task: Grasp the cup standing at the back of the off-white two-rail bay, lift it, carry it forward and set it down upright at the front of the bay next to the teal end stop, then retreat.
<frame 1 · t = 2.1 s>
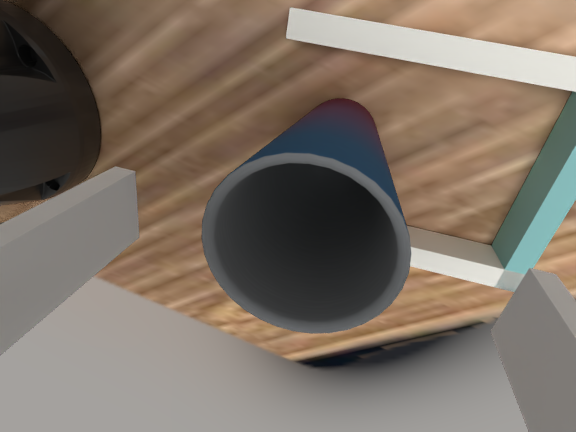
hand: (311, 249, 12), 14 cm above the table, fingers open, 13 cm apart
cup: (339, 135, 25), on the table
bay: (411, 151, 24), on the table
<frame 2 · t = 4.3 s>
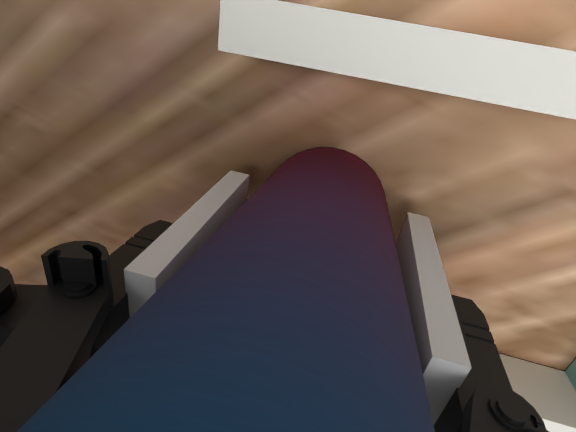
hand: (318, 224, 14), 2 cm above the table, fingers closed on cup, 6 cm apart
cup: (325, 202, 15), on the table, touching gripper
bay: (443, 232, 15), on the table
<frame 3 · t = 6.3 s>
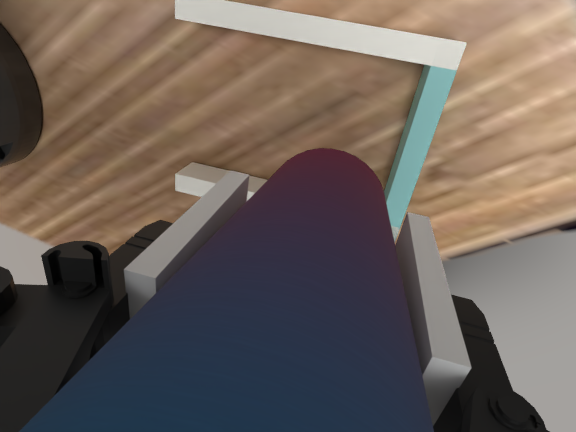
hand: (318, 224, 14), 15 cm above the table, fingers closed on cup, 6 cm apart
cup: (325, 202, 15), point 13 cm above the table, touching gripper
bay: (302, 120, 27), on the table
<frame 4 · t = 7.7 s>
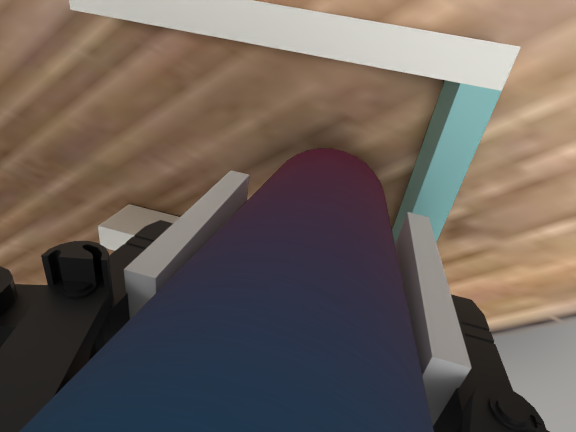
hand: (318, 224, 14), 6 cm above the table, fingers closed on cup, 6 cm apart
cup: (325, 202, 15), point 4 cm above the table, touching gripper
bay: (271, 154, 19), on the table
when the fingers open (5 cm above the table, at t = 8.8 s): cup drops 3 cm, on the table.
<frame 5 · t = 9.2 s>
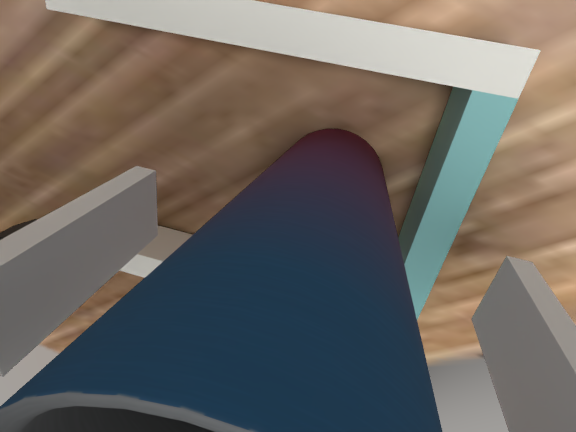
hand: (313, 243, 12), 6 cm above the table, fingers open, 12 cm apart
cup: (332, 176, 18), on the table
bay: (266, 164, 18), on the table
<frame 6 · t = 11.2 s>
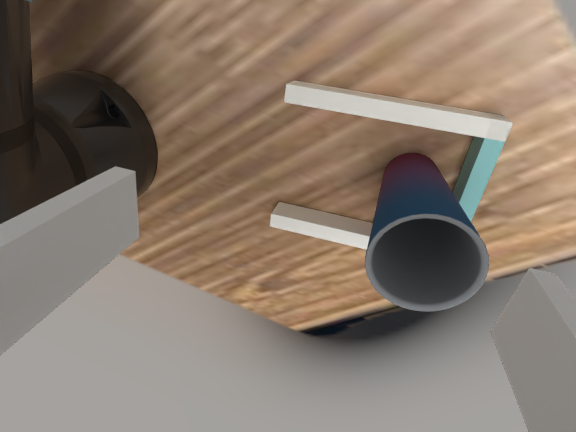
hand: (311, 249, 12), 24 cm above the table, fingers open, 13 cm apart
cup: (410, 177, 34), on the table
bay: (374, 171, 34), on the table
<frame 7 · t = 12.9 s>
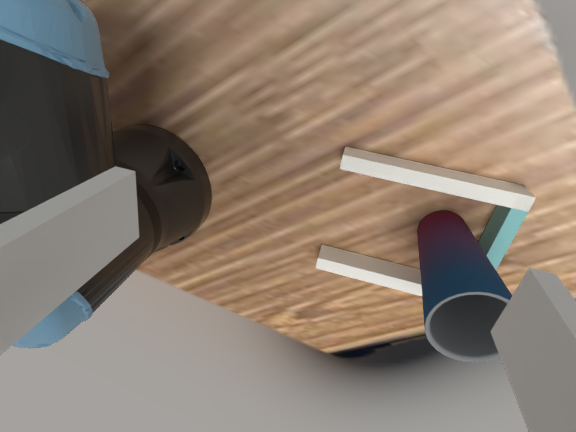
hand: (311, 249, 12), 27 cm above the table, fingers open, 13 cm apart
cup: (441, 230, 39), on the table
bay: (410, 223, 39), on the table
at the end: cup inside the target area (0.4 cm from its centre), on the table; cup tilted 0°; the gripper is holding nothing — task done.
